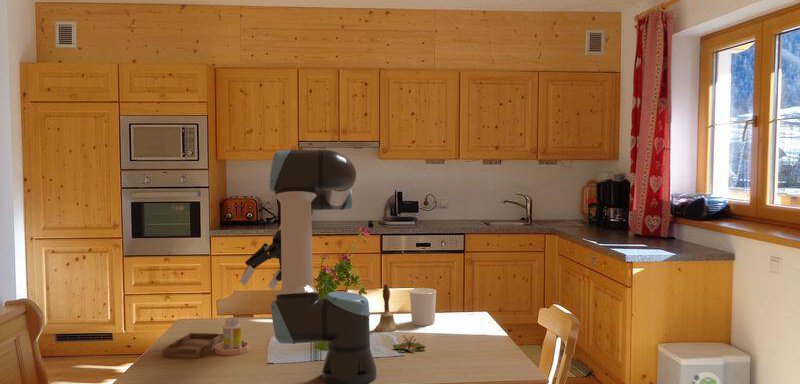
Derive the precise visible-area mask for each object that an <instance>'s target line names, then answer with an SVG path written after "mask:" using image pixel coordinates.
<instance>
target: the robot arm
mask: <svg viewBox="0 0 800 384" xmlns="http://www.w3.org/2000/svg"><path fill="white" fill-rule="evenodd" d="M270 167H271V168H270V174H269V190H270V191H271V192H273V193H274V197H275V199H276V200H278V202H279V203H280V226H279V227H278V230H277V231H276V233H275V234H274V235H273V237H272V242H271V244H267V242H264V243H263V244H262V246H261V247H260V248H259V249H258V250H256V252H255V253H254V254H252V256H250V257H249V258H248V259H247V260H246V261H245V262H244V263H245V265H246V266H247V267H246V268H245V270H244V271H243V274H242V276H241V277H240V279H239V282H240V283H241V284H242V285H243V286H246V285H247V283H249V281H250V279H251V278H252V276H253V274H254V273H255V269H256V268H257V267H258V266H260V265H262V264H263V263H265V262H267V261H268V260H271V259H277V260H278V263H279V269H278V268H277V270H276V272H275V273H274V274H273V276H272V278H271V280H270V282H269V283H268V285H267V287H269V288H270V289H271V290H272V291H275V290H276V288H277V286H278V284H279V283H280V281H281V288H280V289H279V290H278V292H277V293H276V294H275V296H276V297H275V300H274V299H273V300H272V301H271V302H270V307H271V308H270V309H271V311H270V312H271V320H272V325H273V330H274V331H273V332H274V335H275V339H276V341H277V342H278V343H279V344H293V345H295V344H307V343H322V342H323V343H325V342H327V352H326V356H325V359H324V362H323V366H322V370H321V375H322V376H321V378H322V381H323V382H324V383H326V384H369V383H371V382H373V381H374V380H376V378H377V375H378V374H377V373H378V371H377V366H376V363H375V360H374V357H373V354H372V351H371V345H370V343H371V340H370V339H371V338H370V336H371V335H370V331H371V330H370V315H371V313H370V306H369V305H370V304H369V300H368V298H367V297H366V296H363V295H362V294H359V293H355V292H350V291H330V292H328V293H327V294H326V298H320V297H319V296H320V295H319V294H320V293H319V291H318V290H317V289H316V288H315V286H314V272H313V271H314V269H313V268H314V267H313V266H314V265H313V229H312V228H313V227H312V223H313V222H312V217H313V214H314V211H326V210H328V211H329V210H330V211H337V210H341V211H343V210H350V209H352V208H353V190H352V189H351V188H353V186H354V185H355V182H356V179H357V169H356V167H355V165H354V163H353V162H352V161H351V160H350V159H349V158H348V157H347V156H345V155H344V154H342V153H340V152H337V151H335V150H331V149H287V150H277V151H276V152H274V154H273V157H272V160H271V166H270Z"/></svg>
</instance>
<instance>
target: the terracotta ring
mask: <svg viewBox="0 0 800 384" xmlns="http://www.w3.org/2000/svg"><path fill="white" fill-rule="evenodd" d="M241 340H242V339H241ZM249 351H251V343H250V341H247V340H242V348H239V349H231V350H227V349H224V342H221V343H218V344H217V345H215V348H214V353H215V354H216V355H219V356H235V355H237V356H238V355H242V354H244V353H248V352H249Z"/></svg>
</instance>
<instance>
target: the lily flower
mask: <svg viewBox="0 0 800 384" xmlns="http://www.w3.org/2000/svg"><path fill="white" fill-rule="evenodd" d="M402 338H403V339H404V340H403V342H402V343H396V344H393V346H394V347H392V349H391V350H397V349H398V350H397V353H398V354H401V353H405V352H407V351H408V352H410V353H411V354H415V352H416V351H424V352H425V351H426V349H425V348H423V347H425V345H424V344H421V343H420V342H416V340H417V339H416V338H414V335H411V336H410V337H409V338H408V337H407V336H405V335H402ZM413 338H414V339H413ZM412 340H413V341H412ZM403 350H404V351H403Z"/></svg>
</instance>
